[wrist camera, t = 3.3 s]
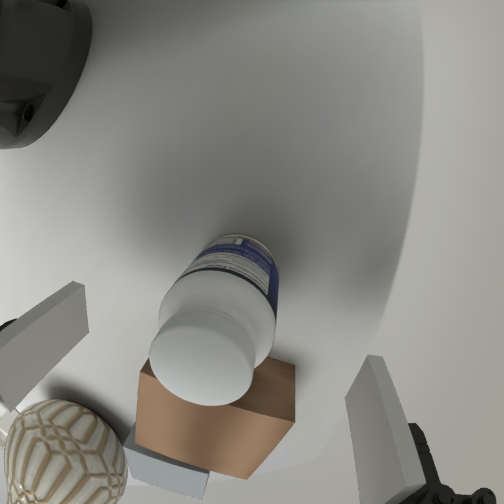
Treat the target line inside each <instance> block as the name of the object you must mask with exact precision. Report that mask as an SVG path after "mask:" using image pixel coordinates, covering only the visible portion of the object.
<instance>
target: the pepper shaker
mask: <svg viewBox="0 0 504 504" xmlns="http://www.w3.org/2000/svg"><path fill="white" fill-rule="evenodd" d="M18 415H19V413H18V412H17V411H16V410H15V409H14V410H13V411H12V412H11V413H10V412H8V411H6V412H5V413H4V414H3V415H2V416H1V418H0V449H2V448H3V446H4V445H5V442H6V438H7V435H8V432H9V429H10V427H11V425H12V423H13V421H14V419H15V418H16V417H17V416H18Z"/></svg>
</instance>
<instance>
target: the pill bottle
mask: <svg viewBox="0 0 504 504" xmlns="http://www.w3.org/2000/svg"><path fill="white" fill-rule="evenodd" d="M278 284H279V274H278V267H277V263H276V261H275V259H274V257H273V255H272V253H271V252H270V251H269V250H268V249H267V248H266V247H265V246H264V245H263V244H262V243H260V242H259V241H257V240H255V239H253V238H251V237H248V236H244V235H226V236H223V237H220V238H218V239H216V240H214V241H212V242H211V243H210V244H208V245H207V246H206V247H205V248H204V249H203V250H202V252H201V253H200V254H199V255H198V256H197V257H196V259H195V260H194V261H193V262H192V263H191V265H190V266H189V267H188V268H187V269H186V270H185V271H184V273H183V274H182V275H181V276H180V277H179V278H178V280H177V281H176V282H175V283H174V285H173V286H172V287H171V288H170V290H169V291H168V292H167V294H166V295H165V297H164V299H163V301H162V303H161V306H160V311H159V329H160V330H159V332H158V334H157V335H156V337H155V339H154V340H153V342H152V344H151V347H150V351H149V360H150V365H151V368H152V370H153V372H154V374H155V376H156V377H157V379H158V380H159V381H160V383H161V384H162V385H163V386H164V387H165V388H166V389H168V390H169V391H170V392H172V393H173V394H175V395H176V396H178V397H180V398H182V399H184V400H186V401H189V402H192V403H195V404H199V405H206V406H218V405H225V404H229V403H232V402H234V401H236V400H238V399H239V398H241V397H242V396H243V395H244V394H245V393H246V392H247V390H248V389H249V387H250V385H251V382H252V378H253V372H254V368H256V367H257V366H258V365H260V364H261V363H262V362H263V361H264V359H265V358H266V357H267V355H268V354H269V352H270V350H271V347H272V345H273V342H274V337H275V330H276V317H277V302H278Z"/></svg>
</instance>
